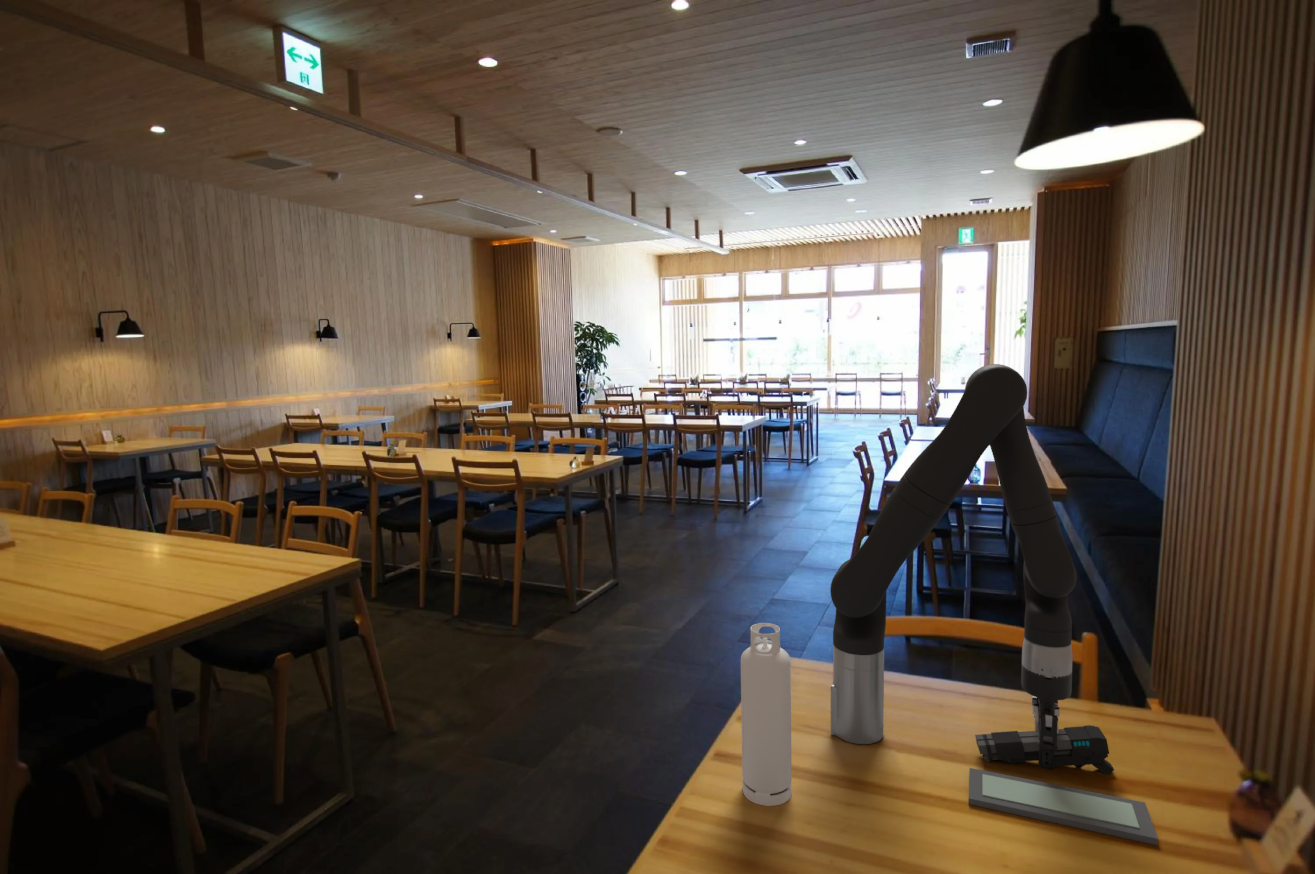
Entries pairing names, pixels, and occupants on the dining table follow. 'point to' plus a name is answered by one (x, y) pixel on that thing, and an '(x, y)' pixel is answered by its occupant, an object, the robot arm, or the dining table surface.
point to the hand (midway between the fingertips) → (1043, 754)
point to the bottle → (766, 718)
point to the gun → (1072, 750)
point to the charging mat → (1062, 805)
